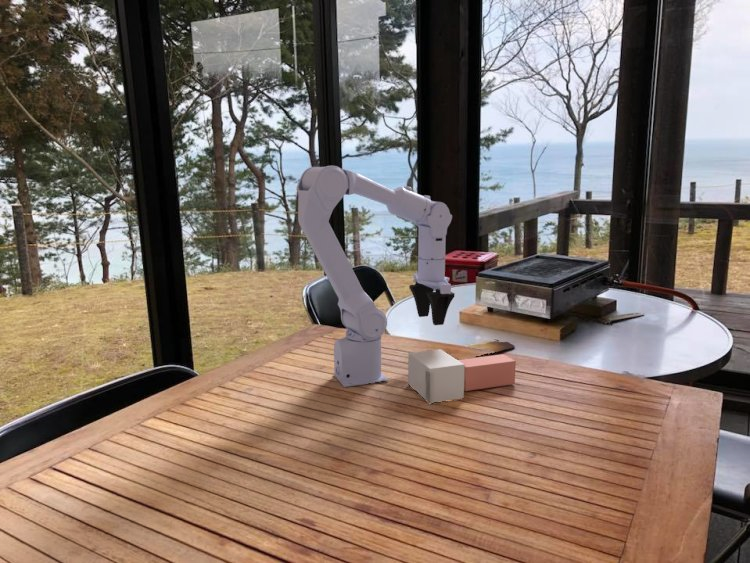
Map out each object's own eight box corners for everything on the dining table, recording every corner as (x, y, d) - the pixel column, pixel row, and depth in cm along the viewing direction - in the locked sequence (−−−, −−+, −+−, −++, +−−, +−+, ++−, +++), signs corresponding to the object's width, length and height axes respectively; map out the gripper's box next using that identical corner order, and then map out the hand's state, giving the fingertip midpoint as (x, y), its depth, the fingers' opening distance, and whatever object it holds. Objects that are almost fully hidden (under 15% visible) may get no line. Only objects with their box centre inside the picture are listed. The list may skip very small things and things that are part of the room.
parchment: (496, 339, 142) (496, 336, 142) (524, 348, 134) (524, 345, 134) (418, 357, 130) (418, 353, 130) (444, 368, 121) (444, 364, 121)
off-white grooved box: (429, 404, 101) (430, 368, 100) (408, 385, 110) (408, 352, 109) (463, 399, 103) (464, 364, 102) (439, 381, 113) (440, 349, 111)
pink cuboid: (465, 391, 107) (466, 367, 106) (454, 383, 111) (455, 360, 110) (514, 383, 110) (515, 360, 109) (502, 376, 114) (503, 354, 114)
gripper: (464, 261, 112) (463, 326, 114) (433, 253, 125) (432, 311, 128) (433, 263, 110) (432, 330, 112) (405, 254, 123) (404, 313, 126)
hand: (430, 320), depth 120 cm, fingers open, 7 cm apart
